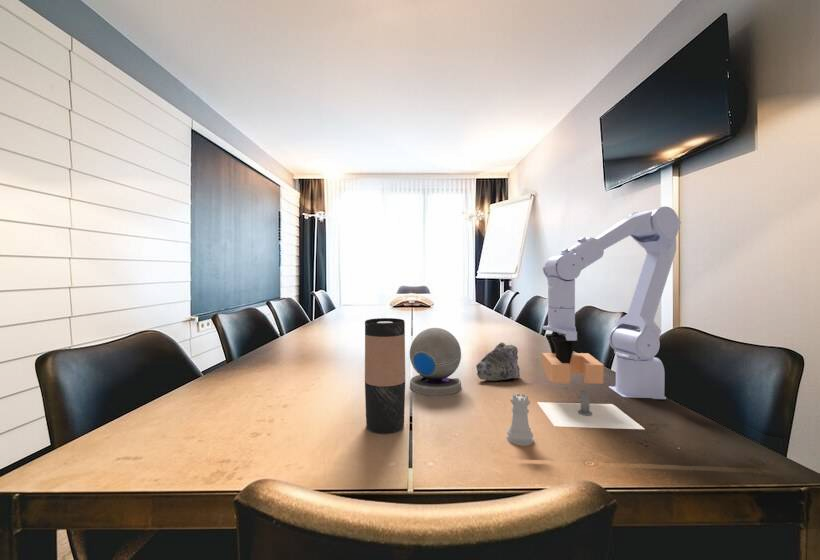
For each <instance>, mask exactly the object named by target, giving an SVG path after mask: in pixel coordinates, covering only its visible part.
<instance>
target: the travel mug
mask: <svg viewBox="0 0 820 560" xmlns="http://www.w3.org/2000/svg"><path fill="white" fill-rule="evenodd" d="M405 323H406V322H405V320H404V319H403V318H391V317H390V318H389V317H388V318H387V317H384V318H383V317H382V318H379V317H378V318H369V319H366V320H365V321H364V395H365V396H364V397H365V423H366V424H365V425H366V428H367V430H368V431H370V432H372V433H375V434H381V435H382V434H384V435H385V434H386V435H387V434H393V433H396V432H399V431H401V430H402V429H403V428H404V425H405V406H406V405H405V401H406V400H405V399H406V335H405V333H406V329H405V328H406V325H405Z"/></svg>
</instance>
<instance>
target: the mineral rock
mask: <svg viewBox="0 0 820 560" xmlns="http://www.w3.org/2000/svg"><path fill="white" fill-rule="evenodd" d="M518 353H519V350H518V347H517V346H516V345H514V344H506V343H504V342H500V343H498V344H497V345H496V346H495V348H493V350H491V351H490V352H487V354H486V355H485V356H484V357H483V358H482V359H481V360H480V361H479V362H478V363H477V364H476V370H477V372H476V376H477V377H478V379H480V380H483V381H484V380H485V381H493V382H499V381H501V382H502V381H504V380H510V379H511V380H512V379H514V380H515V379H519V378H520V377H521V375H520V367H519V364H518V359H519V356H518Z"/></svg>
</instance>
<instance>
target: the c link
mask: <svg viewBox="0 0 820 560" xmlns="http://www.w3.org/2000/svg"><path fill="white" fill-rule="evenodd" d="M541 370H542V372H543V374H545V376H546V377H547V378H548V380H549V381H550V382H551V383H552V384H571V383H570V382H571V374H581V375H583V383H585V384H604V373H605V372H604V370H605V365H604V364H603V363H602V362H601V361H599V360H598V359H596V357H594V356H593V355H591V354H590V353H587V352H585V353H584V352H580V353H579V352H573V353H572V357H571V361H570V364H569V363H561V362H560V361H559V360H558V359H557V358H556V353H552V352H542V353H541Z"/></svg>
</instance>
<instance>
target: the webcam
mask: <svg viewBox="0 0 820 560" xmlns="http://www.w3.org/2000/svg"><path fill="white" fill-rule="evenodd" d="M461 359H462V349H461V345H460V343H459V341H458V339H457V337H455V335H454V334H453V333H451V332H450V331H448V330H447V329H443V328H440V327H431V328H427V329H424V330H422V331H421V332H419V333H418V334H417V335H416V336H415V337H414V338H413V340H412V342H411V345H410V347H409V360H410V363H411V365H412V367H413V369H414V371H415V372H416V373H417V375H415V376H413V377H411V379H410V381H409V388H410V389H411V391H414V392H416V393H419V394H423V395H429V396H431V395H432V396H442V395H443V396H444V395H451V394H455V393H457V392H459V391H461V389H462V381H461V379H460V378H458V377H456V378H455V377H453V378H450V377H451V376H452V375H453V374H454V373H455V372H456V371H457V369H458V367H460V363H461Z"/></svg>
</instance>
